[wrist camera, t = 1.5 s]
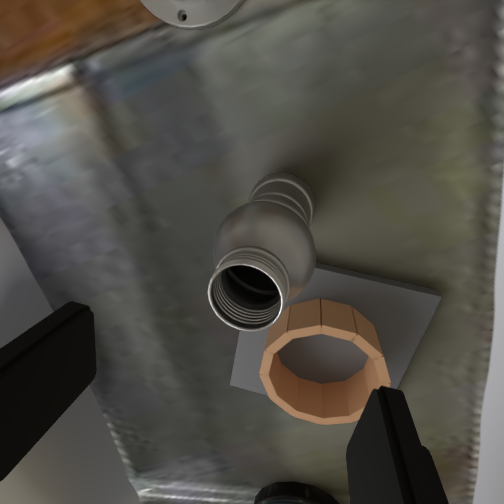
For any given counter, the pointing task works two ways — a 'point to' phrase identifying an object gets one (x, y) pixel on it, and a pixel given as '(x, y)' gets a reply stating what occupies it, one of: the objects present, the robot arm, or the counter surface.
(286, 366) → the duct base
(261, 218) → the plastic bottle
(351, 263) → the counter surface
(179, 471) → the counter surface
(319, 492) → the beer stein
